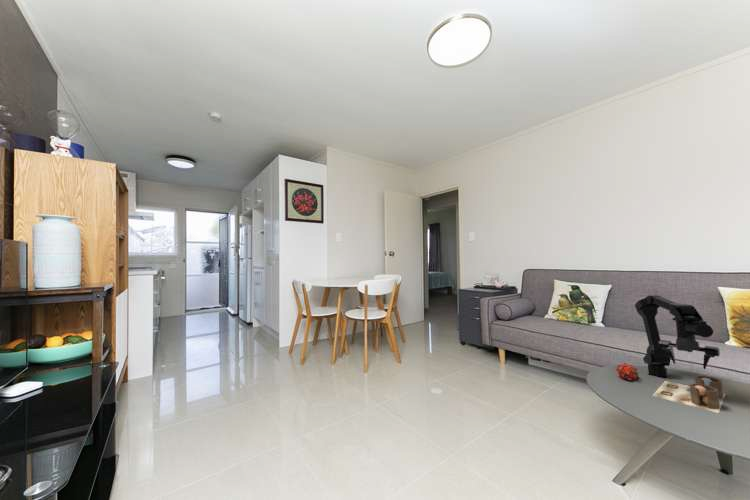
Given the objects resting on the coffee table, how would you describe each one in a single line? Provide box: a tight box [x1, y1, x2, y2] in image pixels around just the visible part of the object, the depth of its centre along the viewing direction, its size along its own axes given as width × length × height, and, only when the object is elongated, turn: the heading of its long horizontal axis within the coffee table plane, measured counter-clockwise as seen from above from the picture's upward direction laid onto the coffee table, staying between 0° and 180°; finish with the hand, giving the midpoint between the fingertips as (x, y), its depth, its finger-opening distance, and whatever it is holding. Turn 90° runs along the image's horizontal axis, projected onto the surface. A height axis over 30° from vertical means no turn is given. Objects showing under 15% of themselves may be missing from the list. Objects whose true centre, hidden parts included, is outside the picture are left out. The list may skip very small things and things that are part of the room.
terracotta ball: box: [694, 385, 707, 396], centre depth 118 cm, size 4×4×4 cm
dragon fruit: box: [615, 362, 640, 381], centre depth 145 cm, size 8×8×12 cm
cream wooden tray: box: [652, 375, 726, 414], centre depth 125 cm, size 19×26×8 cm
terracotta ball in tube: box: [701, 395, 708, 405], centre depth 116 cm, size 4×4×4 cm
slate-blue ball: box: [701, 378, 711, 386], centre depth 125 cm, size 4×4×4 cm
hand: (689, 366), depth 128 cm, fingers open, 9 cm apart
